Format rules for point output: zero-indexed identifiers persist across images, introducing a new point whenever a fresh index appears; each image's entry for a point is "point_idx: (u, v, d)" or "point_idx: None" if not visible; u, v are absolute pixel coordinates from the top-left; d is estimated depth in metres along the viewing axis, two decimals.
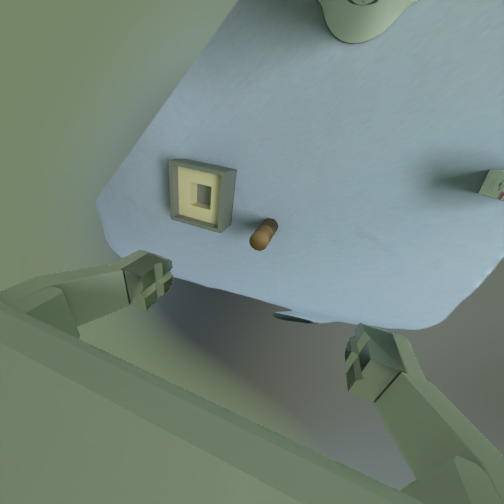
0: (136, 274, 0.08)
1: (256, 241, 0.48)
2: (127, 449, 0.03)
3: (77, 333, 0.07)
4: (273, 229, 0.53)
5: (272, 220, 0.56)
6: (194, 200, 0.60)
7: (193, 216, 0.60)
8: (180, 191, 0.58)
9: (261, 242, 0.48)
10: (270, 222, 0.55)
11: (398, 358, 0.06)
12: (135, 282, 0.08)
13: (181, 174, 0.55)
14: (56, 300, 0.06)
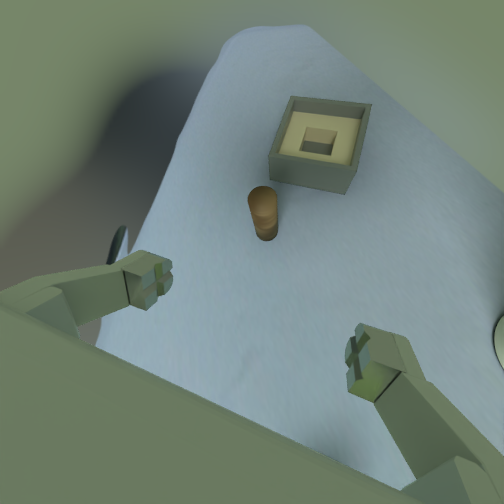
0: (136, 274, 0.08)
1: (263, 195, 0.31)
2: (127, 449, 0.03)
3: (77, 333, 0.07)
4: (268, 230, 0.37)
5: (276, 233, 0.40)
6: (308, 136, 0.45)
7: (289, 128, 0.44)
8: (325, 117, 0.43)
9: (261, 203, 0.30)
10: (276, 229, 0.39)
11: (398, 358, 0.06)
12: (135, 282, 0.08)
13: (347, 121, 0.42)
14: (56, 300, 0.06)
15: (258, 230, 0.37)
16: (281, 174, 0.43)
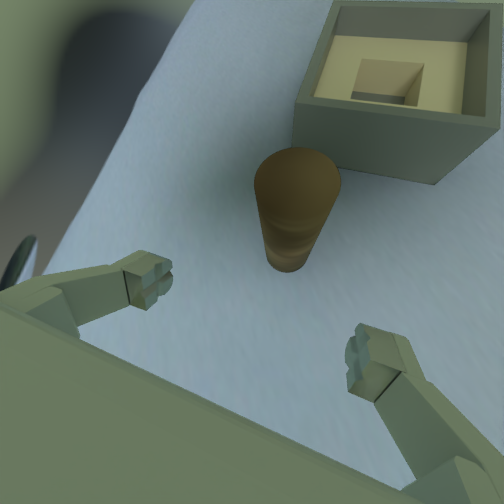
0: (136, 274, 0.08)
1: (299, 173, 0.11)
2: (127, 449, 0.03)
3: (77, 333, 0.07)
4: (297, 258, 0.17)
5: (306, 259, 0.20)
6: (361, 80, 0.25)
7: (330, 62, 0.24)
8: (395, 42, 0.23)
9: (294, 193, 0.10)
10: None
11: (398, 358, 0.06)
12: (135, 282, 0.08)
13: (441, 47, 0.22)
14: (56, 300, 0.06)
15: (273, 256, 0.17)
16: (314, 145, 0.23)
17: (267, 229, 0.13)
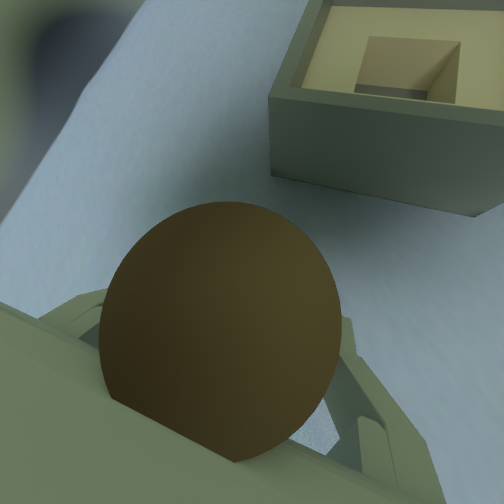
0: None
1: (224, 284, 0.04)
2: (127, 449, 0.03)
3: None
4: None
5: None
6: (368, 68, 0.18)
7: (324, 42, 0.17)
8: (417, 14, 0.17)
9: (204, 355, 0.03)
10: None
11: None
12: None
13: (484, 19, 0.15)
14: None
15: None
16: (302, 160, 0.16)
17: None
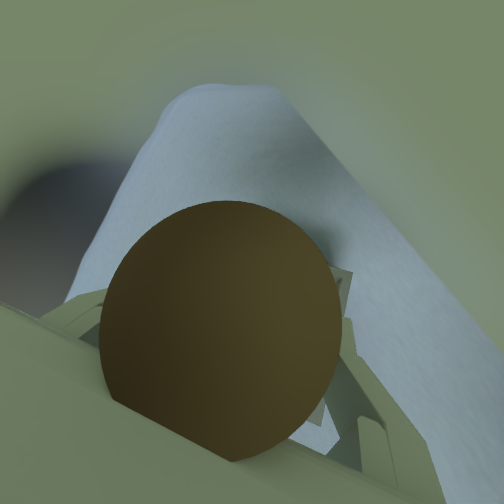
0: None
1: (224, 283, 0.04)
2: (127, 449, 0.03)
3: None
4: None
5: None
6: None
7: None
8: None
9: (204, 354, 0.03)
10: None
11: None
12: None
13: None
14: None
15: None
16: None
17: None
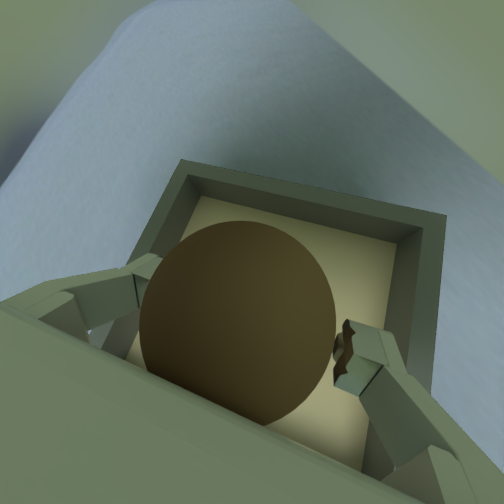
0: (146, 278, 0.08)
1: (241, 289, 0.05)
2: (127, 449, 0.03)
3: (87, 338, 0.07)
4: None
5: None
6: None
7: None
8: (285, 226, 0.14)
9: (226, 346, 0.04)
10: None
11: (382, 352, 0.06)
12: (145, 286, 0.08)
13: (353, 248, 0.13)
14: (68, 305, 0.06)
15: None
16: None
17: None
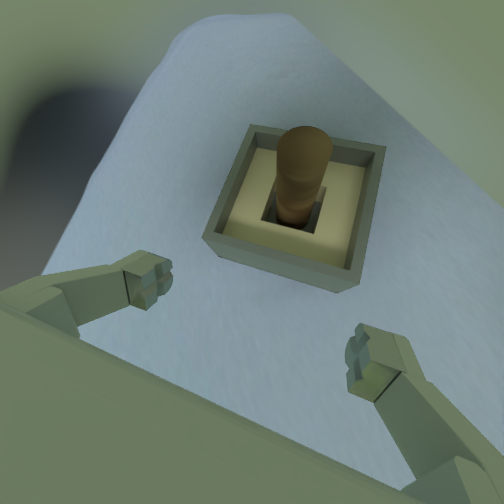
0: (136, 274, 0.08)
1: (306, 142, 0.17)
2: (127, 449, 0.03)
3: (77, 333, 0.07)
4: (301, 213, 0.22)
5: (308, 220, 0.26)
6: None
7: (249, 177, 0.26)
8: None
9: (303, 154, 0.16)
10: (310, 213, 0.25)
11: (398, 358, 0.06)
12: (135, 282, 0.08)
13: (343, 171, 0.25)
14: (56, 300, 0.06)
15: (284, 213, 0.23)
16: (232, 256, 0.25)
17: (283, 184, 0.19)
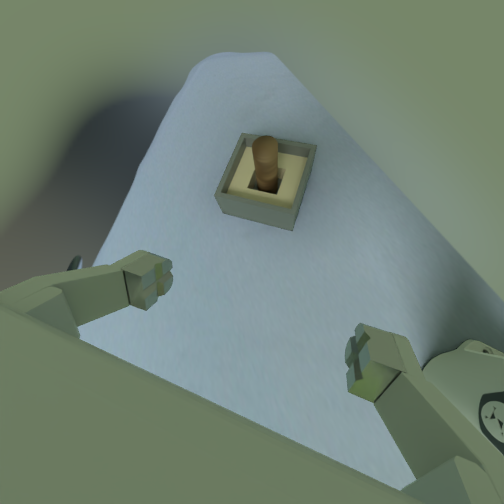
0: (136, 274, 0.08)
1: (265, 143, 0.34)
2: (127, 449, 0.03)
3: (77, 333, 0.07)
4: (269, 182, 0.40)
5: (276, 189, 0.44)
6: None
7: (241, 164, 0.44)
8: None
9: (264, 149, 0.34)
10: (276, 184, 0.43)
11: (398, 358, 0.06)
12: (135, 282, 0.08)
13: (296, 159, 0.43)
14: (56, 300, 0.06)
15: (260, 183, 0.41)
16: (231, 210, 0.43)
17: (256, 164, 0.37)
